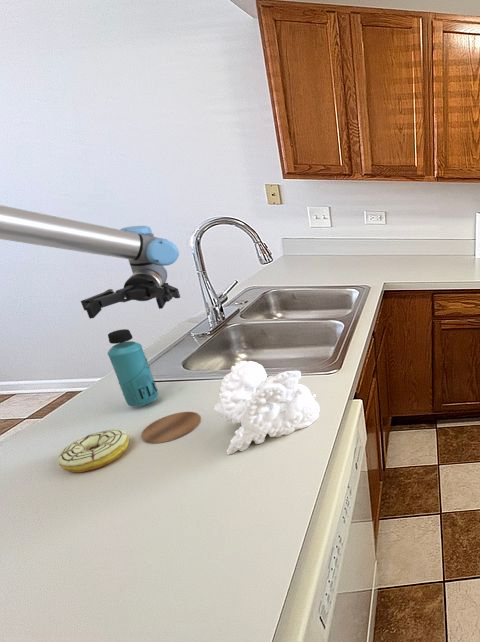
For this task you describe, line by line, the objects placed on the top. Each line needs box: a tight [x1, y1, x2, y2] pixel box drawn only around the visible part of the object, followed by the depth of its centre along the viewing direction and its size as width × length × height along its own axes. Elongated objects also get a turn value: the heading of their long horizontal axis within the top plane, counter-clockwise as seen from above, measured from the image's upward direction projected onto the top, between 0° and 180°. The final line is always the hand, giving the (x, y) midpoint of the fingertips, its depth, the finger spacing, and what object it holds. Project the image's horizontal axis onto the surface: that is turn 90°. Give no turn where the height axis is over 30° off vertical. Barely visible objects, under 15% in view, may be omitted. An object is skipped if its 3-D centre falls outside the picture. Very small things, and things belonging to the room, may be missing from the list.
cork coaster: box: [140, 411, 202, 445], centre depth 90 cm, size 11×11×1 cm
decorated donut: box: [56, 429, 130, 473], centre depth 81 cm, size 10×11×4 cm
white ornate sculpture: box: [212, 360, 321, 456], centre depth 88 cm, size 19×20×20 cm
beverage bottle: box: [107, 328, 159, 408], centre depth 95 cm, size 6×7×20 cm
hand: (125, 308), depth 99 cm, fingers open, 13 cm apart
